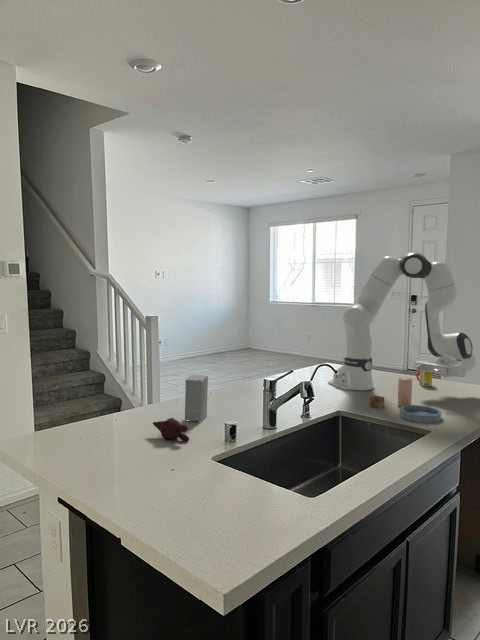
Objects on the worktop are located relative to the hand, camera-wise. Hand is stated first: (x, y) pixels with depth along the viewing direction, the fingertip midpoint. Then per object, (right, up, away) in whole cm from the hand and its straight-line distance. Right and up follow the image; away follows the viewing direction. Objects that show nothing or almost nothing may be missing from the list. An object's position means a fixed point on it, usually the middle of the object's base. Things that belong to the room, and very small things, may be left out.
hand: (426, 370), depth 193 cm
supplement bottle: (+12, -11, +31) cm, 35 cm away
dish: (-10, -15, -20) cm, 27 cm away
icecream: (-99, -18, -41) cm, 109 cm away
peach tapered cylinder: (-11, -14, -5) cm, 18 cm away
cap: (+16, -10, +44) cm, 48 cm away
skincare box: (-92, -16, -20) cm, 96 cm away
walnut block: (-22, -14, -6) cm, 27 cm away
